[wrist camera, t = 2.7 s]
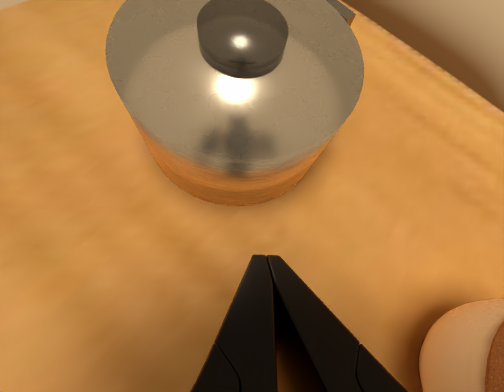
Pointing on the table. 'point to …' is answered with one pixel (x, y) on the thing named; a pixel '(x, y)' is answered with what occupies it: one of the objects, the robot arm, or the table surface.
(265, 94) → the cover
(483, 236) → the table surface
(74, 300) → the table surface
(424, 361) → the lidded jar
